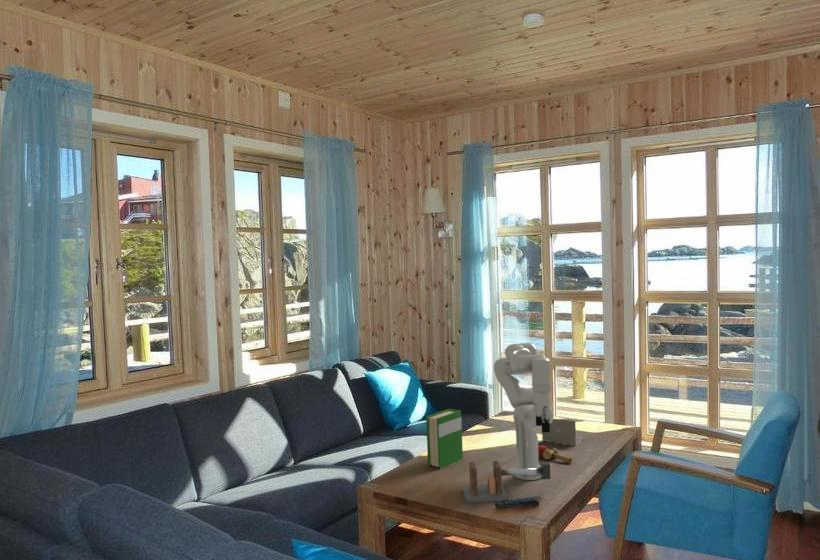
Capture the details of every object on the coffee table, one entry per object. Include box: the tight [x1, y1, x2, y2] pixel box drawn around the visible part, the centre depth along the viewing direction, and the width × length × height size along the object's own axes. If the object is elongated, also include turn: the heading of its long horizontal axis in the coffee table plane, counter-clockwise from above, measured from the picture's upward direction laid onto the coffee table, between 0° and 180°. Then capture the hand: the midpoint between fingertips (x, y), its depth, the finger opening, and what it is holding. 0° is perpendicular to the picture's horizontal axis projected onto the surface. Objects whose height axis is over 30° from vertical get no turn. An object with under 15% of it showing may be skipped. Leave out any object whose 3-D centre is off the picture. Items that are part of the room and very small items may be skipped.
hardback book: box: [425, 408, 464, 469], centre depth 301 cm, size 18×7×24 cm, turn 138°
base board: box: [461, 484, 509, 504], centre depth 259 cm, size 17×14×2 cm
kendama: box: [538, 445, 573, 465], centre depth 300 cm, size 8×6×18 cm
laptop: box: [541, 418, 584, 446], centre depth 330 cm, size 18×12×13 cm
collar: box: [486, 473, 496, 494], centre depth 259 cm, size 2×6×6 cm, turn 2°
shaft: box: [501, 461, 551, 480], centre depth 259 cm, size 20×4×6 cm, turn 92°
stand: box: [468, 460, 503, 496], centre depth 259 cm, size 12×8×11 cm, turn 92°
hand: (542, 428), depth 259 cm, fingers open, 9 cm apart
